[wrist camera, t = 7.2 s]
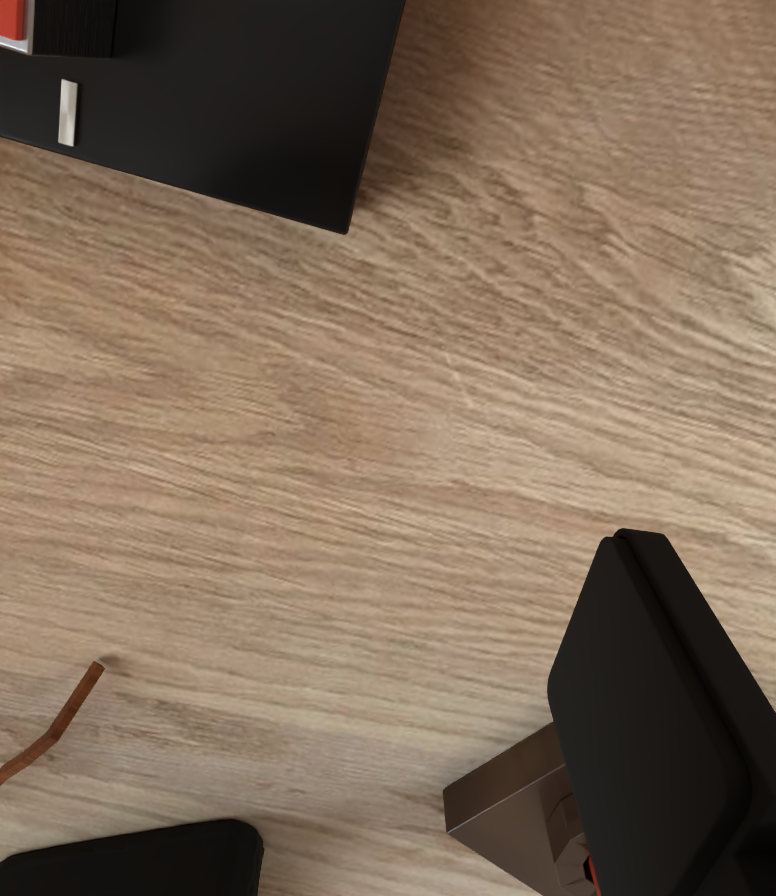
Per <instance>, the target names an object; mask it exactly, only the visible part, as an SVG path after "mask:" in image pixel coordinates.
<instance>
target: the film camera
mask: <svg viewBox="0 0 776 896" xmlns="http://www.w3.org/2000/svg"><path fill="white" fill-rule="evenodd" d="M263 854H264V848H263V840H262V838H261V836H260V835H259V834H258V832H257V830H256V829H255V828H253V827H252V826H250V825H248V824H245V823H242V822H239V821H236V820H224V821H216V822H209V823H202V824H195V825H185V826H179V827H174V828H168V829H162V830H156V831H150V832H143V833H137V834H131V835H124V836H117V837H111V838H106V839H101V840H95V841H88V842H82V843H76V844H71V845H65V846H59V847H54V848H49V849H46V850H42V851H35V852H30V853H25V854H21V855H17V856H12V857H8V858H6V859H5V860H3V861H2V862H0V896H257V895H258V886H259V878H260V871H261V864H262V858H263Z"/></svg>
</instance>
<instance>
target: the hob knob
mask: <svg viewBox="0 0 776 896" xmlns="http://www.w3.org/2000/svg"><path fill="white" fill-rule="evenodd" d="M115 8H116V0H0V47H3V48H6V49H9V50H12V51H15V52H18V53H21V54H25V55H28V56H49V57H75V58H101V59H109V58H110V57H111V50H112V39H113V29H114V18H115Z"/></svg>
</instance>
